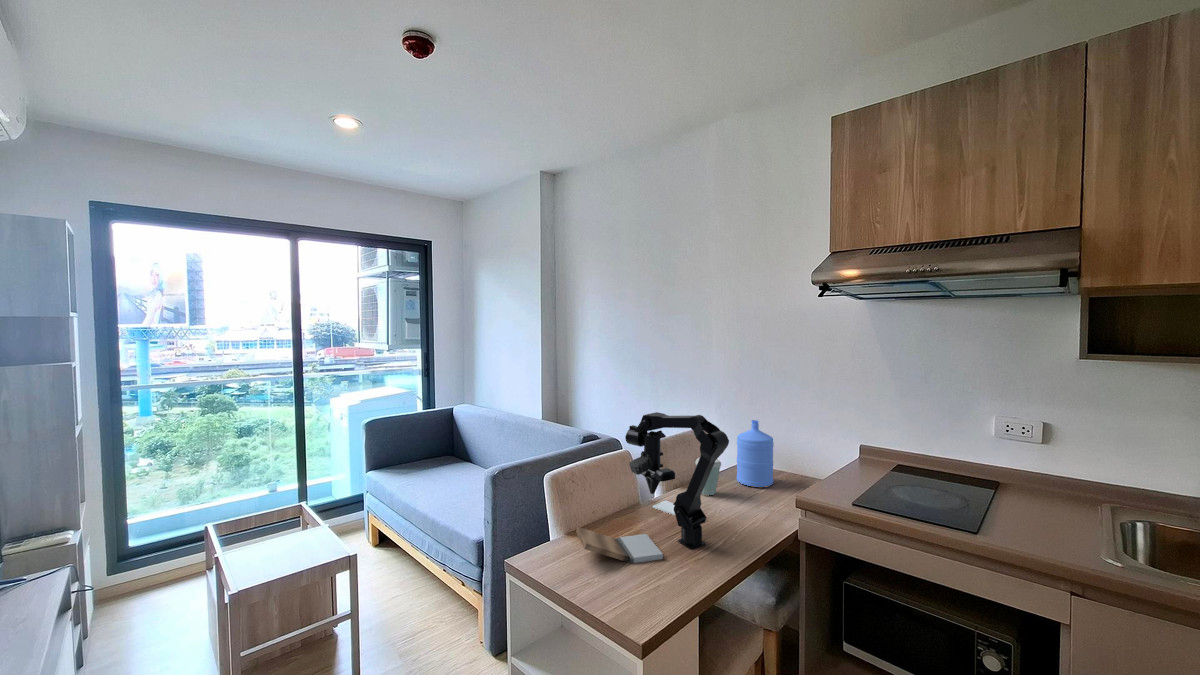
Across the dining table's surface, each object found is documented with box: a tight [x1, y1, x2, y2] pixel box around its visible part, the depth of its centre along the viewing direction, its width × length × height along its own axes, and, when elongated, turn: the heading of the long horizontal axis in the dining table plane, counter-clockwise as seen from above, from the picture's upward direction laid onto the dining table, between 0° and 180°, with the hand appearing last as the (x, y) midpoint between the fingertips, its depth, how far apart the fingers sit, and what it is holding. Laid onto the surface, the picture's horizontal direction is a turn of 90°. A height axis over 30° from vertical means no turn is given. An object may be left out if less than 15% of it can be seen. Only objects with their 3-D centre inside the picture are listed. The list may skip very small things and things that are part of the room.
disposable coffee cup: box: [694, 456, 722, 497], centre depth 194 cm, size 11×11×15 cm
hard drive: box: [652, 499, 676, 517], centre depth 178 cm, size 2×8×12 cm
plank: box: [575, 526, 629, 563], centre depth 142 cm, size 14×12×2 cm
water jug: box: [736, 419, 774, 487], centre depth 208 cm, size 16×16×28 cm
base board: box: [616, 533, 664, 564], centre depth 145 cm, size 10×14×2 cm
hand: (652, 493), depth 161 cm, fingers closed
